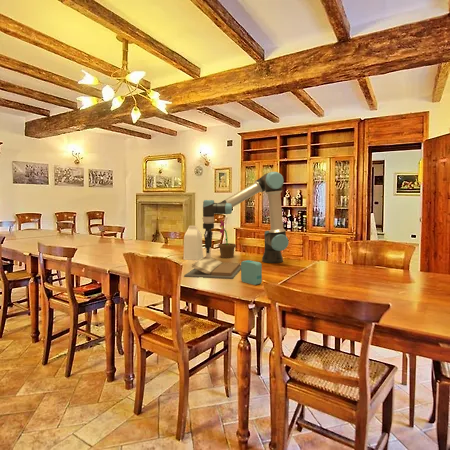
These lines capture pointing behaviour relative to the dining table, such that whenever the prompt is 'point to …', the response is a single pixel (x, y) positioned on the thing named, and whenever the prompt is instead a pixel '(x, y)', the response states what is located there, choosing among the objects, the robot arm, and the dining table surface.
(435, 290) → the dining table surface
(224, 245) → the flowerpot
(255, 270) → the data package
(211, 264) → the plank
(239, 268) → the floor frame
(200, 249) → the milk
